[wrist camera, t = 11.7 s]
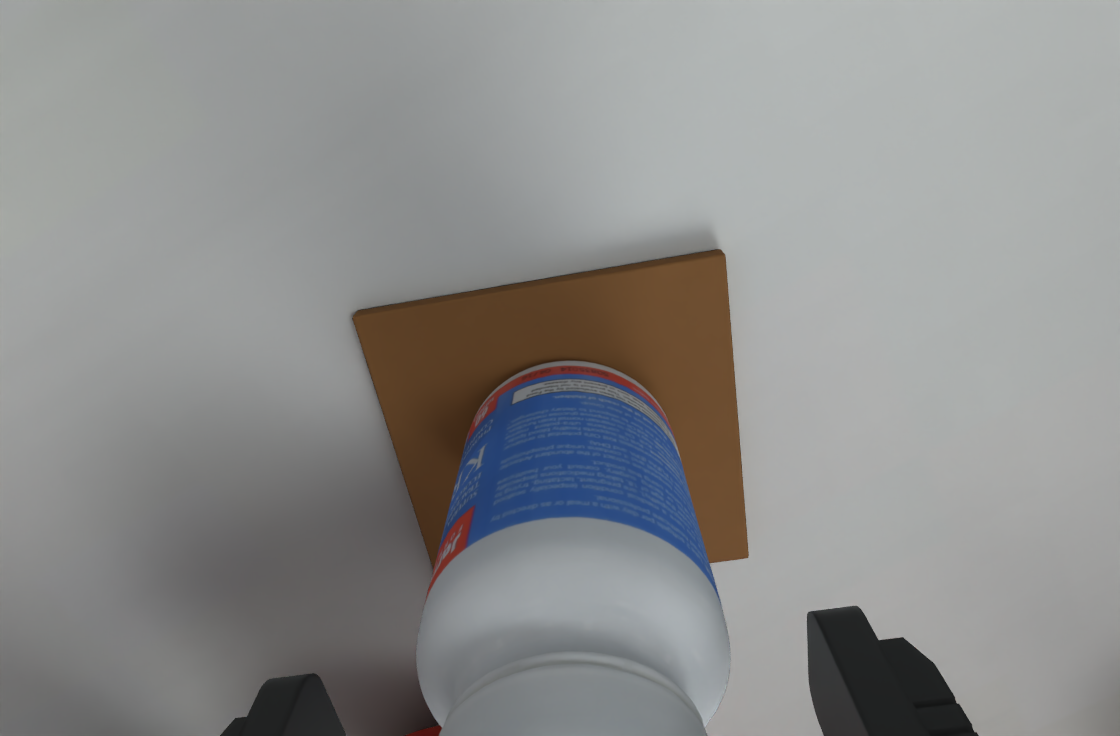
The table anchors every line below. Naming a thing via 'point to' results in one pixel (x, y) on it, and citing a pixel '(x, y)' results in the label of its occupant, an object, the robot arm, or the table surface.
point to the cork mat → (566, 335)
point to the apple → (427, 732)
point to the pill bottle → (572, 570)
